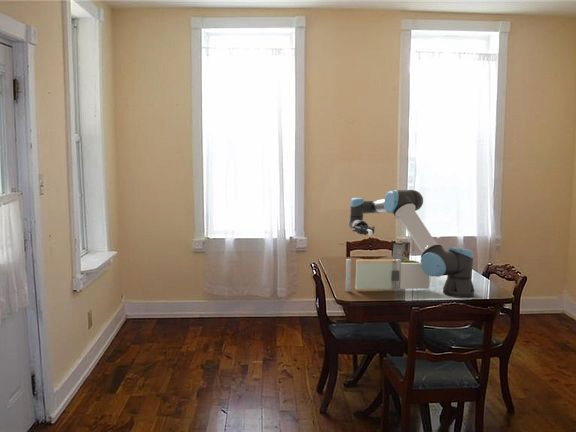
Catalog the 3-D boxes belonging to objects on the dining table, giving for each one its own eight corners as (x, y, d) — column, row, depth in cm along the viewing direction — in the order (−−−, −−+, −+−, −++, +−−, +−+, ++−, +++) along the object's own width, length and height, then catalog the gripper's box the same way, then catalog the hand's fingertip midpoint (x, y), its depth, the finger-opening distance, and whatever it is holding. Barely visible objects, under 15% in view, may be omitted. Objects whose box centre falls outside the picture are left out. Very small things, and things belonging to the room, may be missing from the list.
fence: (429, 291, 291) (431, 260, 289) (346, 292, 285) (347, 260, 283) (427, 289, 294) (428, 258, 292) (344, 290, 289) (345, 259, 287)
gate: (355, 289, 287) (357, 260, 285) (355, 288, 289) (356, 259, 287) (394, 288, 290) (396, 260, 288) (394, 288, 291) (395, 259, 289)
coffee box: (399, 267, 345) (400, 241, 343) (409, 269, 341) (410, 242, 338) (391, 269, 338) (393, 242, 336) (401, 271, 334) (402, 244, 332)
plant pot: (418, 280, 314) (419, 264, 313) (401, 278, 316) (402, 263, 315) (418, 276, 323) (419, 261, 322) (401, 275, 325) (402, 259, 324)
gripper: (371, 233, 331) (382, 240, 308) (349, 233, 329) (359, 240, 306) (371, 220, 330) (383, 226, 307) (349, 220, 328) (359, 226, 305)
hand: (371, 233), depth 306 cm, fingers closed
